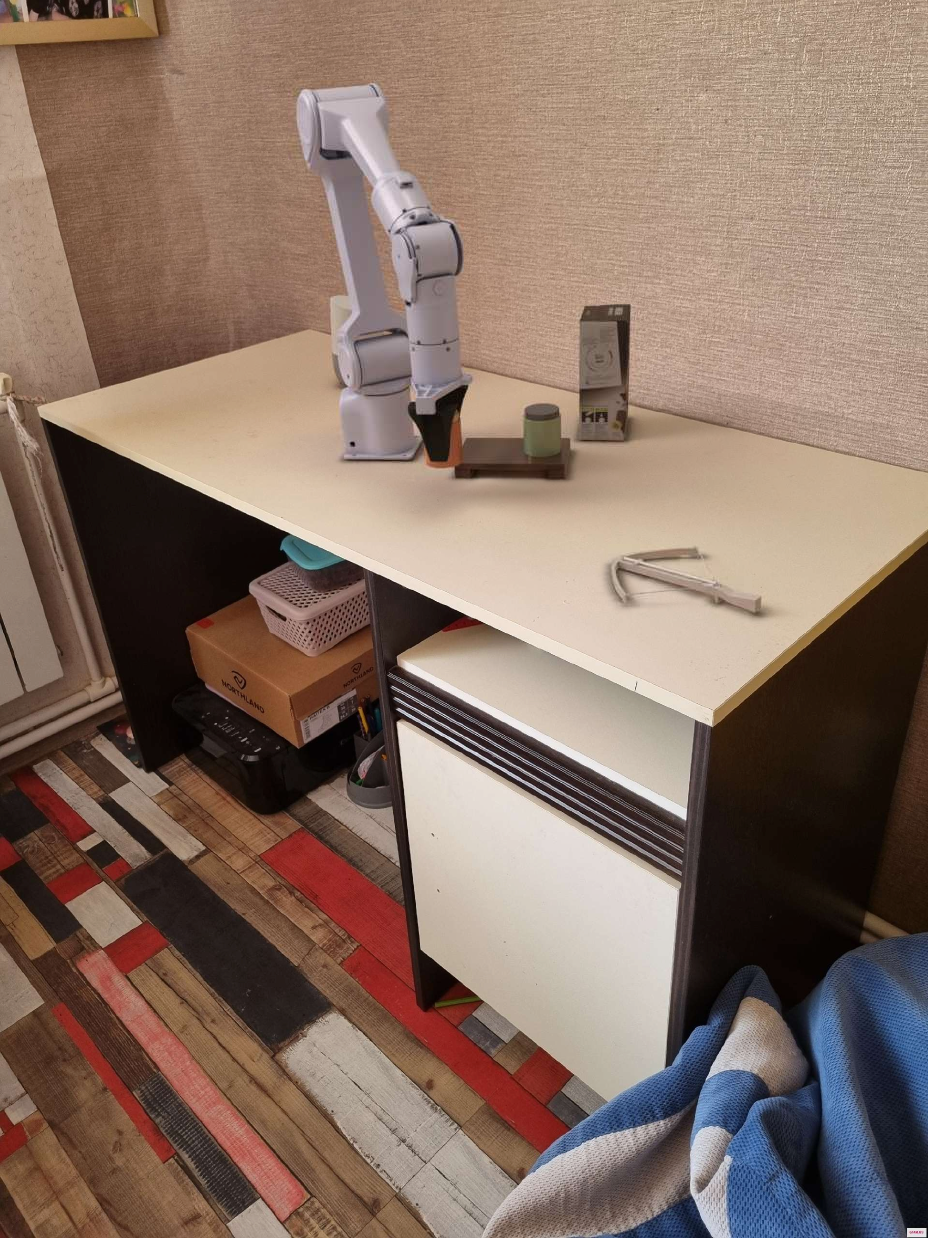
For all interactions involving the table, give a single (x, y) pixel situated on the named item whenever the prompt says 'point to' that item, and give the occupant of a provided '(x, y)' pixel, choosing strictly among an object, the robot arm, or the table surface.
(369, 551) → the table surface
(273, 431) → the table surface
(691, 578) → the crossbow
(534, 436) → the sage pot
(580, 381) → the coffee box
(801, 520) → the table surface
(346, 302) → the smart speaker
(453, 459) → the spice jar
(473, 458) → the stand
